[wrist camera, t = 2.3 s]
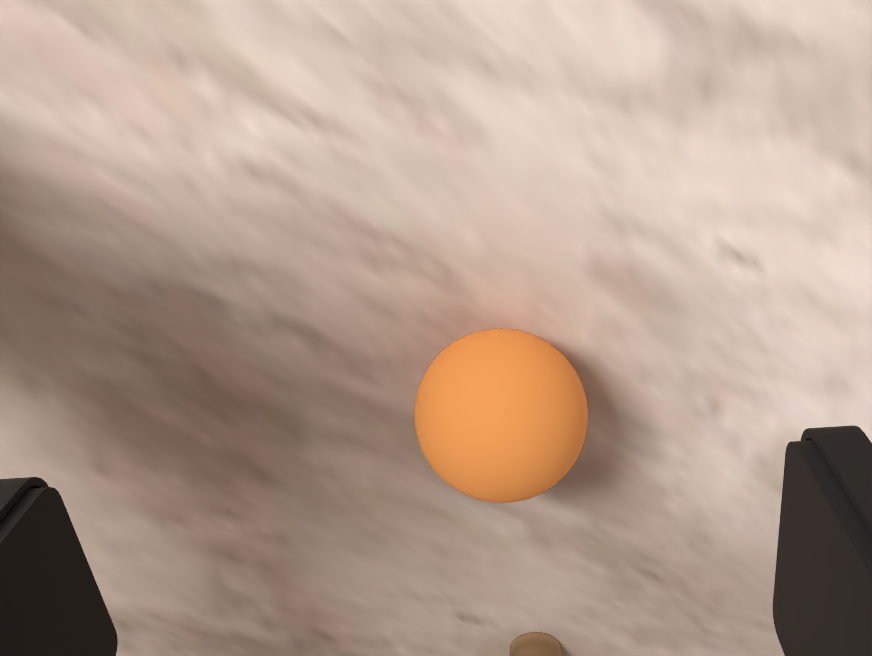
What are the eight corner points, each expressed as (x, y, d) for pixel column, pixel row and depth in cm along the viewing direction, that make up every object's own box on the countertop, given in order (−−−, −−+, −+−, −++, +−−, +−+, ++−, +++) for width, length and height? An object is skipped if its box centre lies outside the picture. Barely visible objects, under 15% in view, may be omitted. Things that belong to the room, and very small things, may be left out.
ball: (409, 309, 30) (392, 394, 24) (572, 291, 29) (592, 374, 24) (433, 443, 32) (423, 547, 27) (583, 429, 32) (603, 532, 26)
